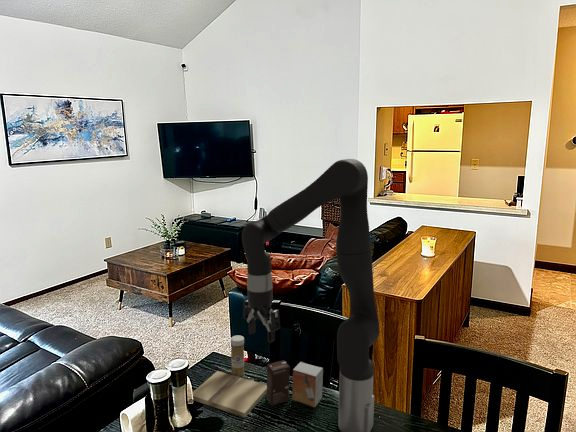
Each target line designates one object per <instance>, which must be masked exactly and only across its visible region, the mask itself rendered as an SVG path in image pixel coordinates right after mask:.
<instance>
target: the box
mask: <svg viewBox="0 0 576 432" xmlns="http://www.w3.org/2000/svg"><path fill="white" fill-rule="evenodd" d="M290 370H291V369H290V365H289V364H288V363H287V361H285V360H284V359H283V360H279V361H274V362H272V363H267V364H266V385H267V393H266V400H267V401H268V403H269V404H270V405H271V406H272V407H273V406H276V405H279V404H282V403H285V402H289V395H290V393H289V392H290Z"/></svg>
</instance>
